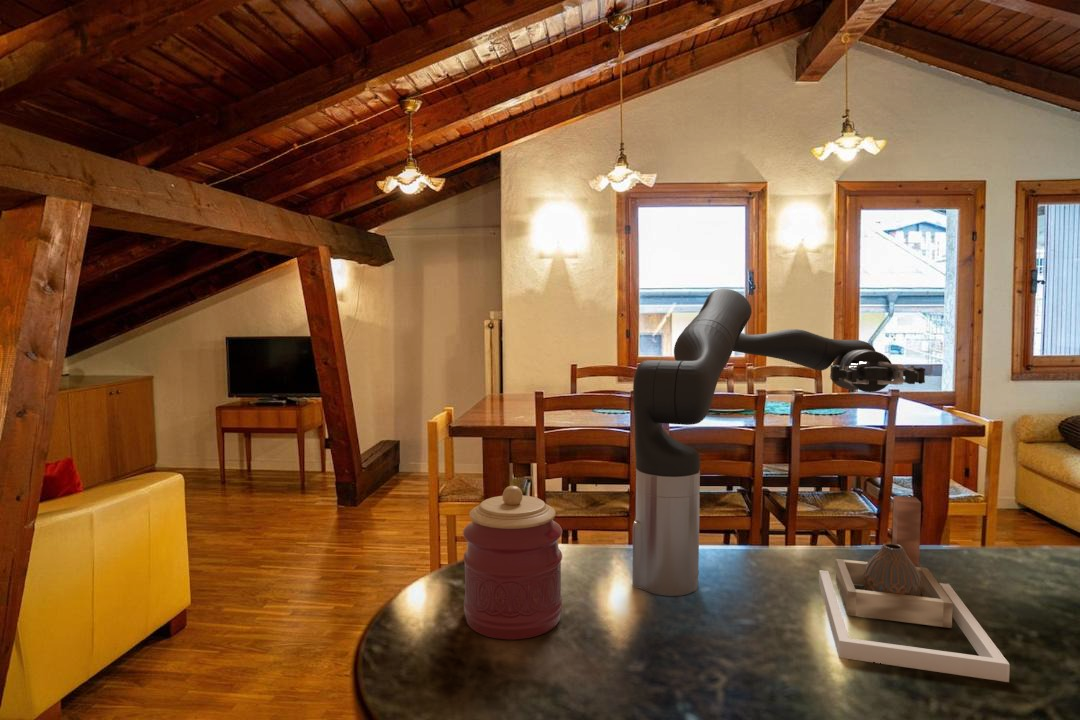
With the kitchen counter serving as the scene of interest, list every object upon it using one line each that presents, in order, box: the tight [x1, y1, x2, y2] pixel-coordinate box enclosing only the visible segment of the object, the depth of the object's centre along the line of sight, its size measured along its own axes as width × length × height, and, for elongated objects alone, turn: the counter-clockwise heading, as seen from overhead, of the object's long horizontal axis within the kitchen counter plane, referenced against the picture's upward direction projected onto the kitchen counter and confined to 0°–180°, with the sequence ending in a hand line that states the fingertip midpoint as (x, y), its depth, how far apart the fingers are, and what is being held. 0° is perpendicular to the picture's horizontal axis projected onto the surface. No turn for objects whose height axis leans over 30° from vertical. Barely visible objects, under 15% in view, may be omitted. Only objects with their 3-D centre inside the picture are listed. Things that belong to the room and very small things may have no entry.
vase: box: [862, 542, 922, 597], centre depth 87 cm, size 7×7×9 cm
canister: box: [462, 485, 563, 640], centre depth 84 cm, size 13×13×18 cm
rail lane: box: [818, 569, 1011, 683], centre depth 82 cm, size 17×22×2 cm
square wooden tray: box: [835, 495, 953, 629], centre depth 91 cm, size 12×18×12 cm
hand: (883, 376), depth 105 cm, fingers open, 8 cm apart
